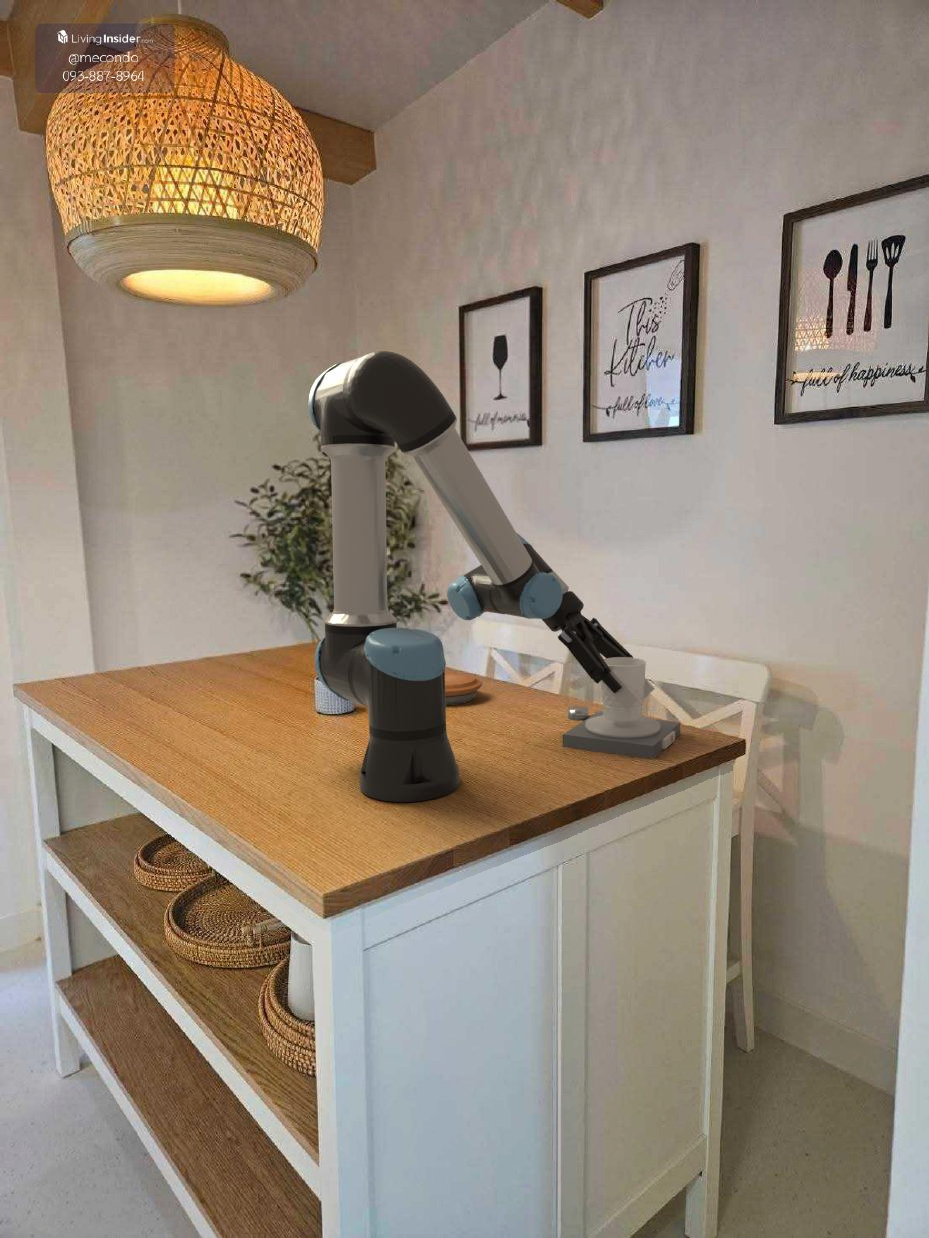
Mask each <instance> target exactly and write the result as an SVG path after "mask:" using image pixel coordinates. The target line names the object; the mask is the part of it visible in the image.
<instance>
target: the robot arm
mask: <svg viewBox="0 0 929 1238" xmlns="http://www.w3.org/2000/svg"><path fill="white" fill-rule="evenodd" d="M310 388H311V389H310V392H309V395H308V402H307V403H308V413H309V415H310V419H311V421H312V423H313V425H314V426H315V427H316V428H317V430H318V432H319V433H320V450H321V451H323V453H324V454H325V455H327V457H328V458H329V459H330V466H331V467H330V470H331V471H330V473H331V476H330V477H331V511H332V512H331V517H332V519H331V521H332V522H331V523H332V524H331V525H332V526H331V528H332V562H333V563H332V564H333V565H332V568H333V569H332V570H333V575H332V576H333V611H332V612H331V613H330V615H328V616H327V618H325V620H324V635H323V637H322V638H321V640H320V641H319V642H318V643H317V646H316V649H315V653H314V668H315V672H316V675H317V677H318V679H319V681H320V683H321V684H322V685H323V686H324V687H325V688H326V689H327V690H328V691H330V692H331V693H332V694H335V696H336V697H338V698H339V699H342V700H345V701H349V702H353V703H355V704H357V705H361V706H364V707H367V710H368V713H367V714H368V715H367V716H368V731H369V733H368V734H369V738H368V741H367V742H368V743H367V747H366V750H365V753H364V756H363V760H362V765H361V768H360V771H359V790H360V791H361V792H362V793H363V795H366V796H367V797H369V798H372V799H376V800H379V801H385V802H395V803H396V802H397V803H412V802H421V801H428V800H429V801H430V800H433V799H438V798H441V797H444V796H446V795H449V794H451V793H452V792H455V790H457V789H458V787H459V786H460V768H459V765H458V763H457V760H456V757H455V755H454V751H453V747H452V745H451V743H450V740H449V737H448V733H447V711H446V710H447V709H446V708H447V707H446V706H447V705H446V699H445V674H446V671H445V670H446V659H445V652H444V650H445V649H444V645H443V642H442V640H441V639H440V638H439V637H438V636H437V635H435V634H434V633H433V632H430V631H426V630H423V629H418V628H417V629H416V628H414V629H412V628H409V627H398V625H397V624H398V622H397V621H398V619H397V618H396V617H395V616H394V614H392V613H391V611H389V609H388V572H387V571H388V569H387V568H388V564H387V563H388V562H387V559H388V558H387V557H388V556H387V552H388V551H387V495H386V493H387V489H386V487H387V484H386V483H387V482H386V481H387V479H386V478H387V477H386V475H387V474H386V471H387V470H386V461H387V459H388V457H390V455H391V454H392V453H393V452H394V451H395V450H396V446H395V445H397V447H398V448H399V450H400V451H401V453H402V454H405V455H409V456H411V457H412V458H413V459H414V461H415V463H416V464H417V466H418V467H419V469H420V470H421V472H422V473H423V475H424V476H425V478H426V480H427V482H428V483H429V485H430V486H431V488H432V489H433V491H434V493H435V494H436V496H437V497H438V499H439V500H440V502H441V504H442V505H443V507H444V508H445V510H446V511H447V514H448V515H449V516H450V518H451V519H452V521H453V523H454V524H455V526H456V528H457V530H458V531H459V532H460V533H461V535H462V537H463V538H464V539H465V542H466V543H467V544H468V546H469V548H470V549H471V551H472V553H473V554H474V555H475V558H476V560H478V562H479V564H480V565H478V566H477V567H475V568H473V569H472V570H470V571H467V573H465V574H462V575H460V576H459V577H458V578H457V579H456V580H454V581H453V582H451V583H450V584H449V585H448V588H447V590H446V597H447V600H448V604H449V606H450V607H451V610H452V612H453V613H454V614H456V615H457V616H458V617H459V618H460V619H462V620H463V621H473V620H474V619H476V618H478V617H482V615H483V614H485V613H492V614H500V615H508V616H512V617H513V616H514V617H519V618H525V619H528V620H532V619H533V620H535V619H536V620H538V619H539V620H541V621H542V622H544V623H545V625H546V626H547V628H549V630H550V631H552V632H554V633H555V632H559V631H561V633H560V634H559V635H558V636H557V639H558V641H560V643H562V644H563V645H564V646H565V647H566V648H567V649H568V651H569V652H570V654H571V655H572V656H573V657H574V659H575V660H576V661H577V662H578V664H579V665H580V666H581V667H582V669H583V670H584V671H585V673H586V674H587V675H588V677H589V678H590V679H591V680H593V682H594V683H596V684H599V683H601V680H602V682H603V683H604V684H605V685H606V686H607V687H608V689H609V690H610V691H611V692H612V693H613V694H614V695H615V696H616V697H617V699H618V700H619V701H620V702H621V703H622V704H623V705H624V706H625V708H626V709H627V710H628V709H629V708H630V707H632V706H633V705H634V704H635V703H636V702H637V701H638V700H639V697H638V696H637V695H636V694H635V693H634V692H633V691H632V690H631V689H630V687H629V686H628V685H627V684H626V683H625V682H624V681H623V680H622V679H621V677H620V676H619V675H618V674H617V673H616V672H615V671H614V670H613V671H612V672H611V671H610V669H609V667H608V666H607V664H606V663H605V661H604V659H606V658H613V657H630V658H634V656H633V655H632V654H631V653H630V652H629V651H628V650H627V649H626V648H625V647H624V646H623V645H622V644H620V642H619V641H618V640H617V639H616V638H614V637H613V636H612V634H610V633H609V632H608V631H607V630H606V629H605V628H604V627H603V626H602V624H601V623H600V622H599V621H598V619H597V618H595V617H592V619H589V618H587V617H585V616H584V615H583V614H582V610H583V609H584V605H585V604H584V603H583V601H582V600H581V599H580V598H579V597H578V596H577V595H576V593H575V592H574V591H573V590H572V591H571V590H569V589H570V587H569V585H568V584H567V583H566V582H565V581H564V580H563V579H562V578H561V576H559V575H558V574H557V573H556V572H555V571H554V569H552V568H551V566H550V565H548V563H547V562H546V561H545V560H544V559H543V558H542V556H541V554H539V553H538V552H537V551H536V550H535V548H534V547H533V545H532V544H530V543H529V542H528V541H527V540H526V539H525V538H524V537H522V535H521V534H520V533H518V532H516V530H515V528H514V526H513V524H512V523H511V521H510V519H509V518H508V516H507V514H506V513H505V511H504V510H503V507H502V506H501V504H500V502H499V501H498V499H497V497H496V495H495V494H494V492H493V491H492V489H491V487H490V485H489V484H488V481H486V479H485V477H484V476H483V474H482V472H481V470H480V469H479V466H478V465H477V463H476V462H475V459H474V458H473V457H472V455H471V453H470V452H469V450H468V448H467V446H466V445H465V443H464V441H463V440H462V438H461V436H460V434H459V433H458V431H457V429H456V425H457V421H458V417H457V415H456V414H455V413H454V411H453V409H452V407H451V405H450V404H449V403H448V401H447V399H446V397H445V396H444V394H443V393H442V392H441V390H440V389H439V387H438V386H437V385H436V384H435V382H433V380H432V379H431V378H430V376H429V375H428V374H427V373H426V372H425V371H424V370H423V369H422V368H421V367H420V366H419V365H417V363H415V362H414V361H412V360H411V359H409V358H407V357H406V356H404V355H402V354H399V353H397V352H393V351H387V350H380V351H373V352H369V353H367V354H364V355H363V356H359V357H357V358H354V359H351V360H346V361H341V362H339V363H336V364H334V365H332V366H330V367H329V368H328V369H326V370H325V371H324V372H322V373H321V374H320V375H319V376H318V377H317V378H316V379H315V381H314V382H313V384H312V386H311V387H310ZM603 657H604V658H603ZM610 672H611V673H610ZM654 690H656V689H655V687H654V686H653V684H652V683H650V682H649V681H648V679H647V678H646V677H645V687H644V698H643V700H644V699H645V698H646V697H648V695H650V694H651V693H652V692H653V691H654Z"/></svg>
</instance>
